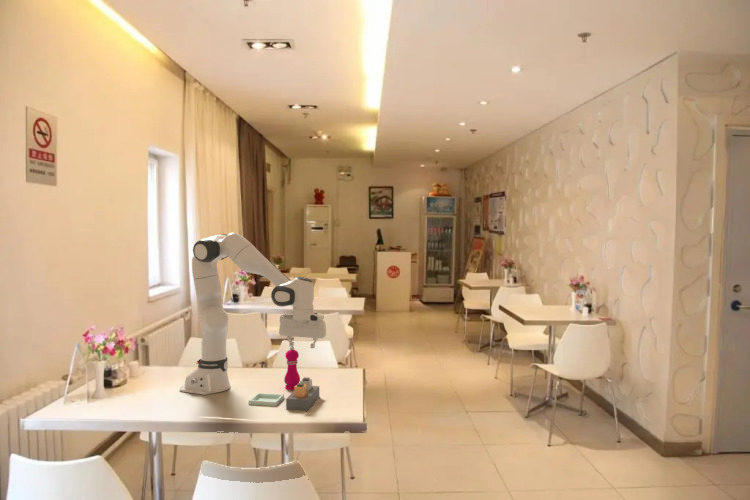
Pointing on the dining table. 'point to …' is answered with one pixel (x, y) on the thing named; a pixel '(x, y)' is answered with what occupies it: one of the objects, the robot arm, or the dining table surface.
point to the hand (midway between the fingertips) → (302, 347)
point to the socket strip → (303, 400)
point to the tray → (266, 399)
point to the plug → (300, 390)
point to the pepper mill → (291, 369)
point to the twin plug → (307, 383)
